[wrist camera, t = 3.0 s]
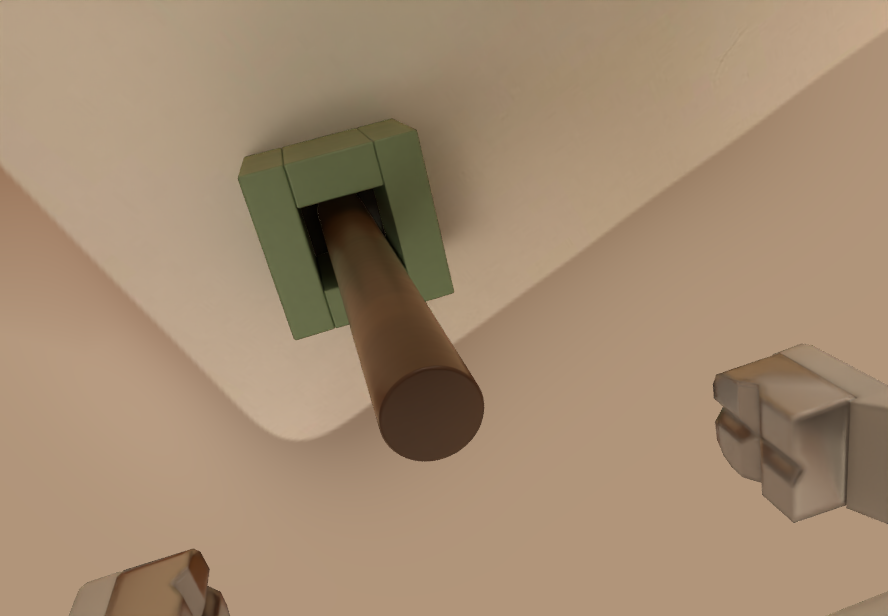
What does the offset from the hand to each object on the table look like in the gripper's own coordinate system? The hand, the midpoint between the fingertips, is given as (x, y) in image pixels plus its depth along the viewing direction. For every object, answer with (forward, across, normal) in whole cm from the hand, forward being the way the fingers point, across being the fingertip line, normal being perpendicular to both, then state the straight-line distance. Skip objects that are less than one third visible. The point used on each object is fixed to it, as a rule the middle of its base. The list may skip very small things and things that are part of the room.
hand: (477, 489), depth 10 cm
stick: (+20, 0, 0) cm, 20 cm away
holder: (+20, 0, 0) cm, 20 cm away
